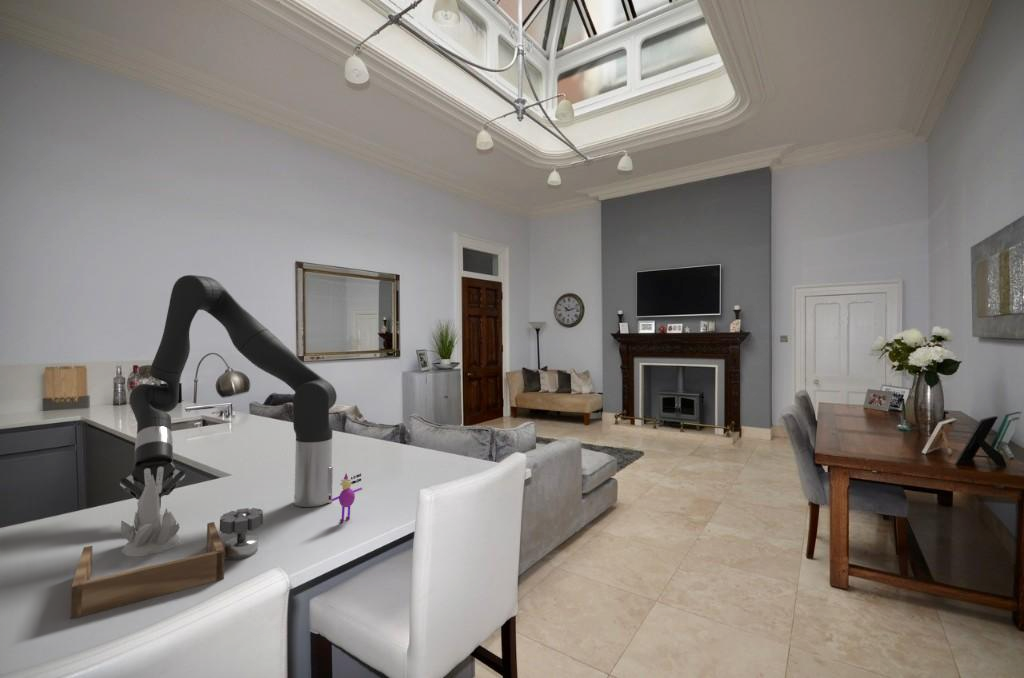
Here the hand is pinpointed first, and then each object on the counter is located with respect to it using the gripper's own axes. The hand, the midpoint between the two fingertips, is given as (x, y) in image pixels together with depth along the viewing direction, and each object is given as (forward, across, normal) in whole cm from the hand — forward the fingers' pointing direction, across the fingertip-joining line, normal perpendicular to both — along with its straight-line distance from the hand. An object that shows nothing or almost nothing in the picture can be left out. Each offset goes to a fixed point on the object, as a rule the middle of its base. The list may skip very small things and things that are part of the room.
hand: (153, 511), depth 105 cm
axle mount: (+21, +14, -15) cm, 29 cm away
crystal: (+11, 0, -5) cm, 12 cm away
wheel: (+17, +14, -19) cm, 29 cm away
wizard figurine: (+18, +37, -12) cm, 43 cm away
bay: (+21, 0, -16) cm, 26 cm away
